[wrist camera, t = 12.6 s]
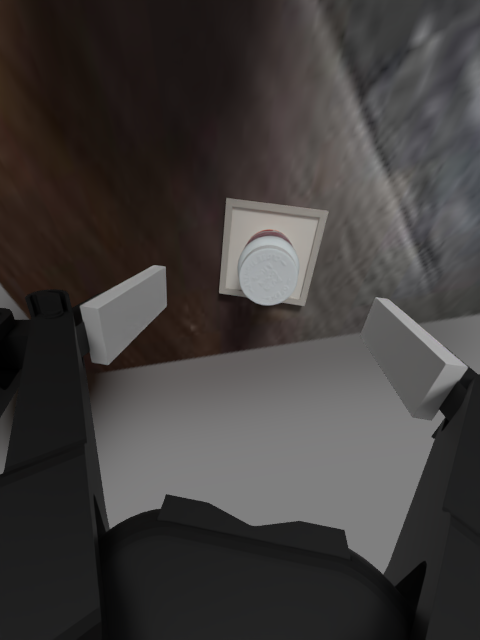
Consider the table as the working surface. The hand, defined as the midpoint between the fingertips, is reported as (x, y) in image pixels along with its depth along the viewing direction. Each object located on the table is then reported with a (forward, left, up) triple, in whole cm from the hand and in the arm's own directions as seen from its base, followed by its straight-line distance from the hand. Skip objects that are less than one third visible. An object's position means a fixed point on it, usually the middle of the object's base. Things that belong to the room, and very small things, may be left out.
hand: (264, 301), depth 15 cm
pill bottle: (0, 0, -18) cm, 18 cm away
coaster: (0, 0, -18) cm, 18 cm away
